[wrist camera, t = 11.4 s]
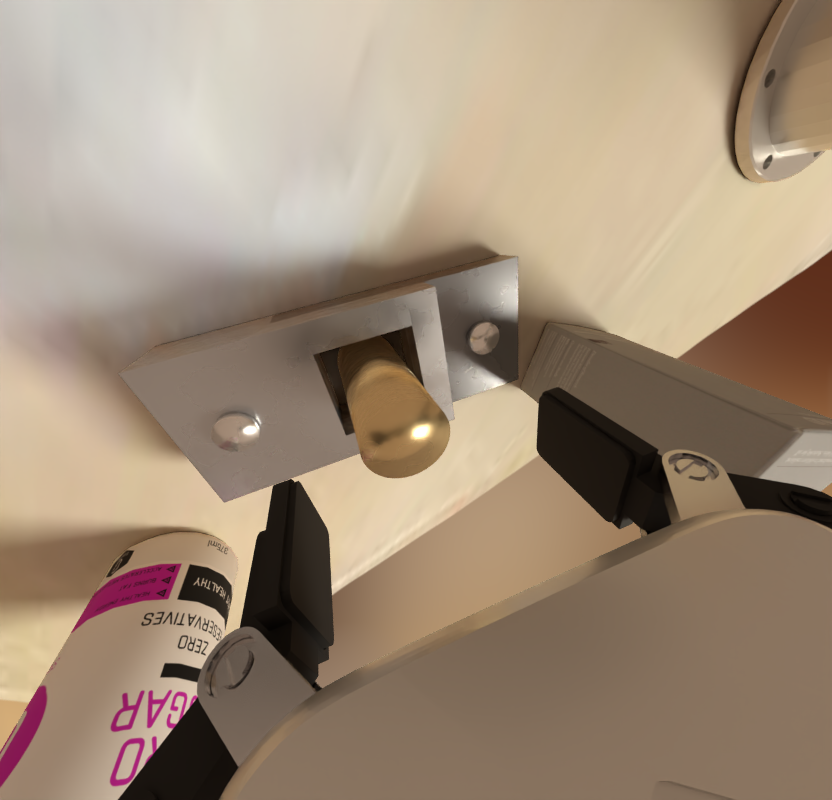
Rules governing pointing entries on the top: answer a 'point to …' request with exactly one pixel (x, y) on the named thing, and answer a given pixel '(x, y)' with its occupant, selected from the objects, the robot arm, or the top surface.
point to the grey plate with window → (323, 372)
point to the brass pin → (390, 410)
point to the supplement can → (123, 672)
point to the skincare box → (684, 406)
